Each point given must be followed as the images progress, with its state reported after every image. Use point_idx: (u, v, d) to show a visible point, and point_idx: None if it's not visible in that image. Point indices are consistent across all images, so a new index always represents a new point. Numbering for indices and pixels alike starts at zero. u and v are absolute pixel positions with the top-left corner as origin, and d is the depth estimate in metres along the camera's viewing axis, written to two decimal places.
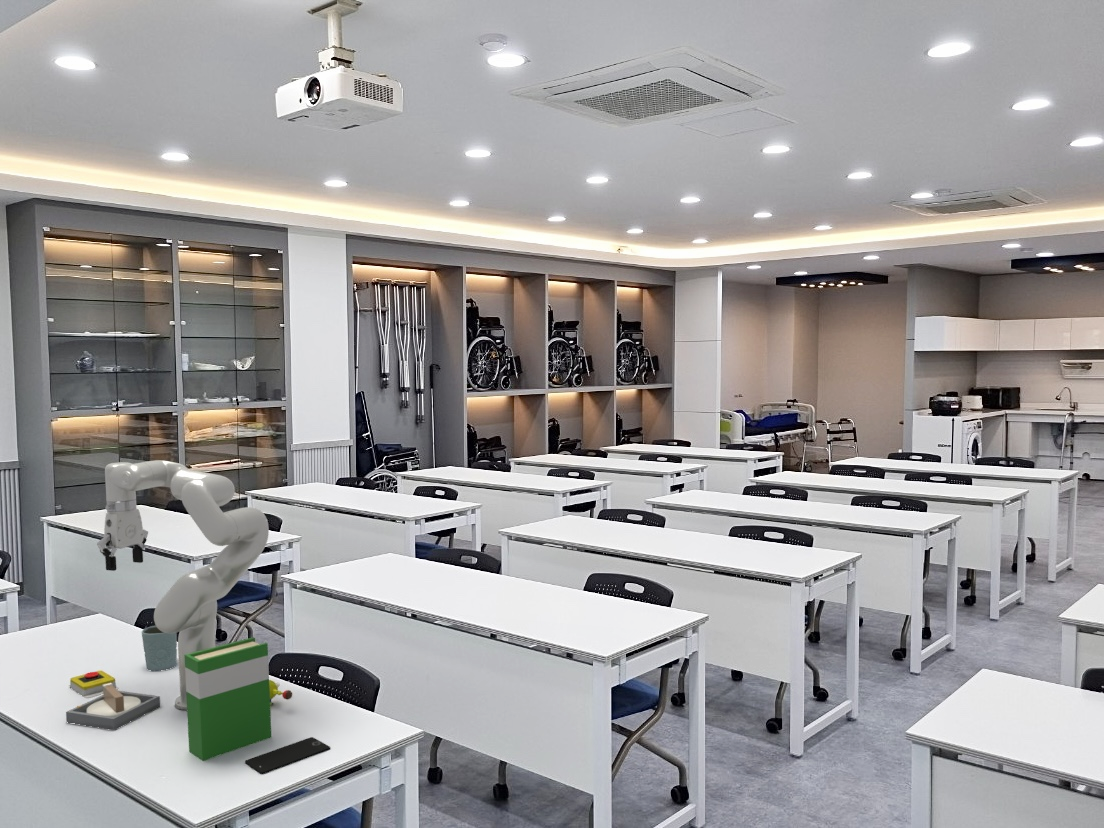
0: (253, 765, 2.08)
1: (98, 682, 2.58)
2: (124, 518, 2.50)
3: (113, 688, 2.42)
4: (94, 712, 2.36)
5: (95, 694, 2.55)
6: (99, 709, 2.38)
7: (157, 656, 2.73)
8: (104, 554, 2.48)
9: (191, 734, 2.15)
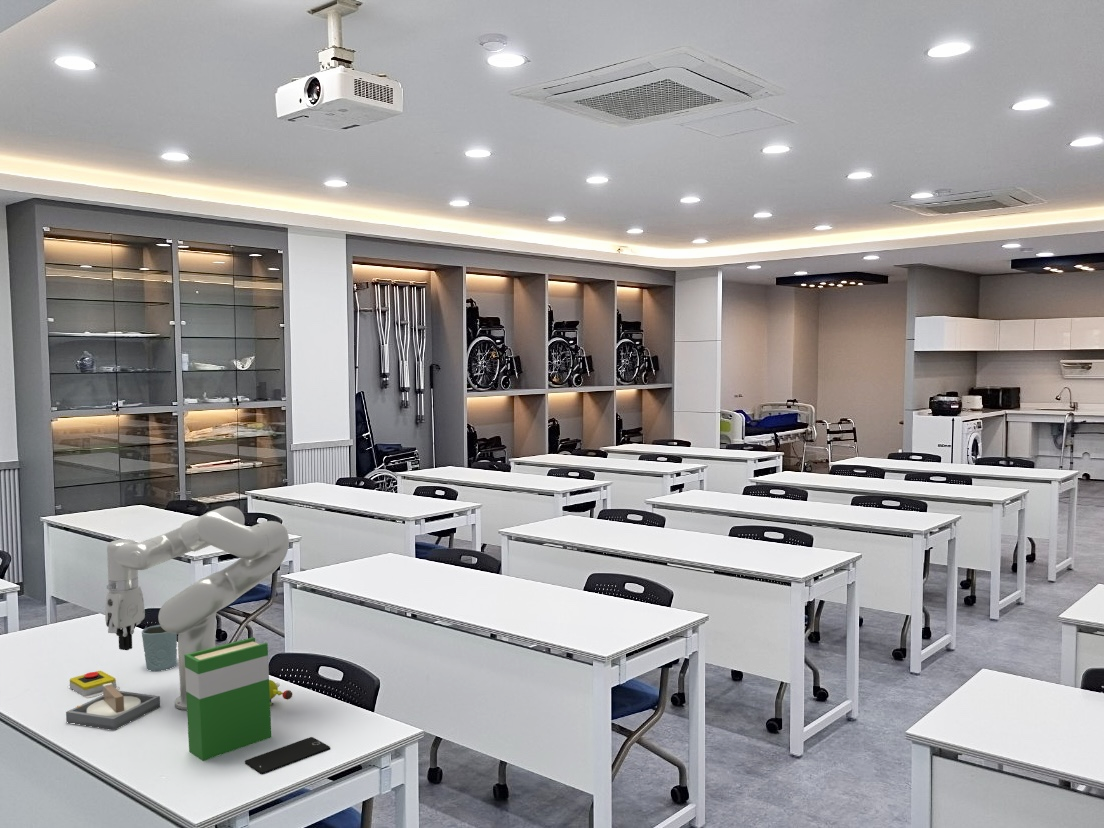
0: (253, 765, 2.08)
1: (99, 682, 2.58)
2: (126, 597, 2.47)
3: (113, 688, 2.42)
4: (94, 712, 2.36)
5: (96, 694, 2.55)
6: (99, 709, 2.38)
7: (157, 656, 2.73)
8: (117, 634, 2.48)
9: (191, 734, 2.15)
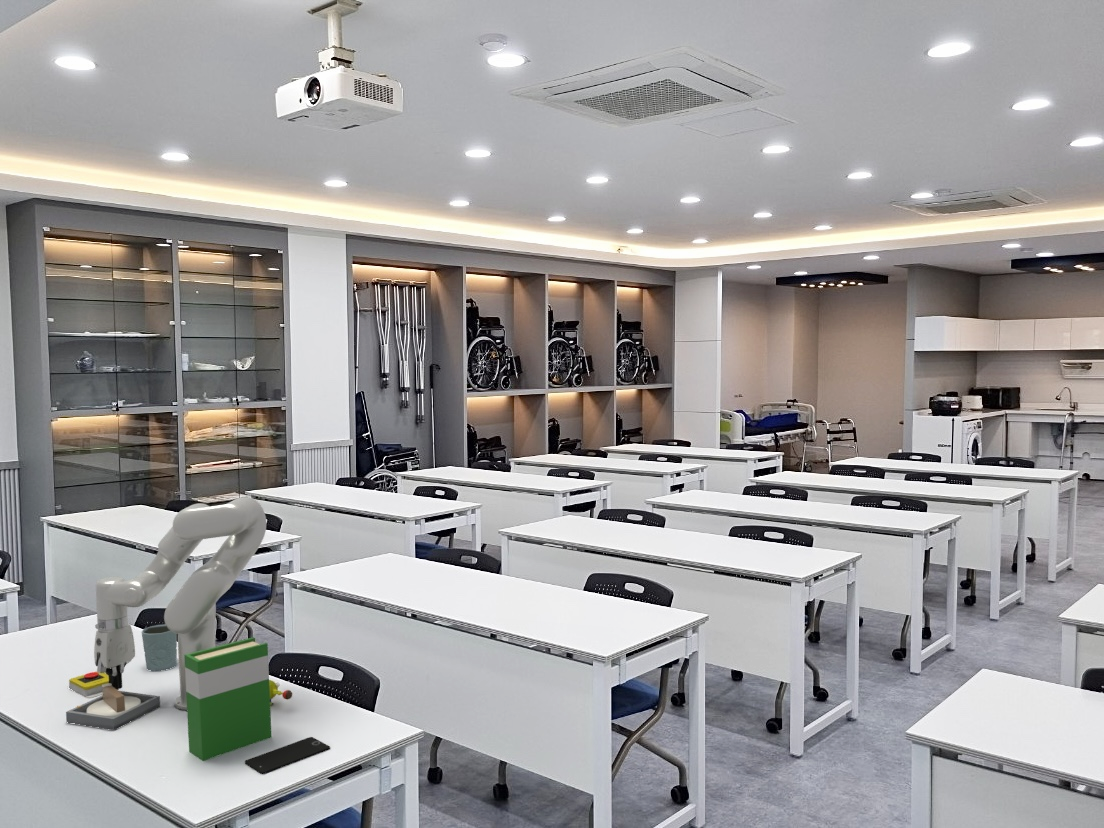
0: (253, 765, 2.08)
1: (99, 682, 2.58)
2: (115, 636, 2.44)
3: (113, 688, 2.42)
4: (94, 712, 2.36)
5: (97, 694, 2.55)
6: (99, 709, 2.38)
7: (157, 656, 2.73)
8: (107, 673, 2.45)
9: (191, 734, 2.15)
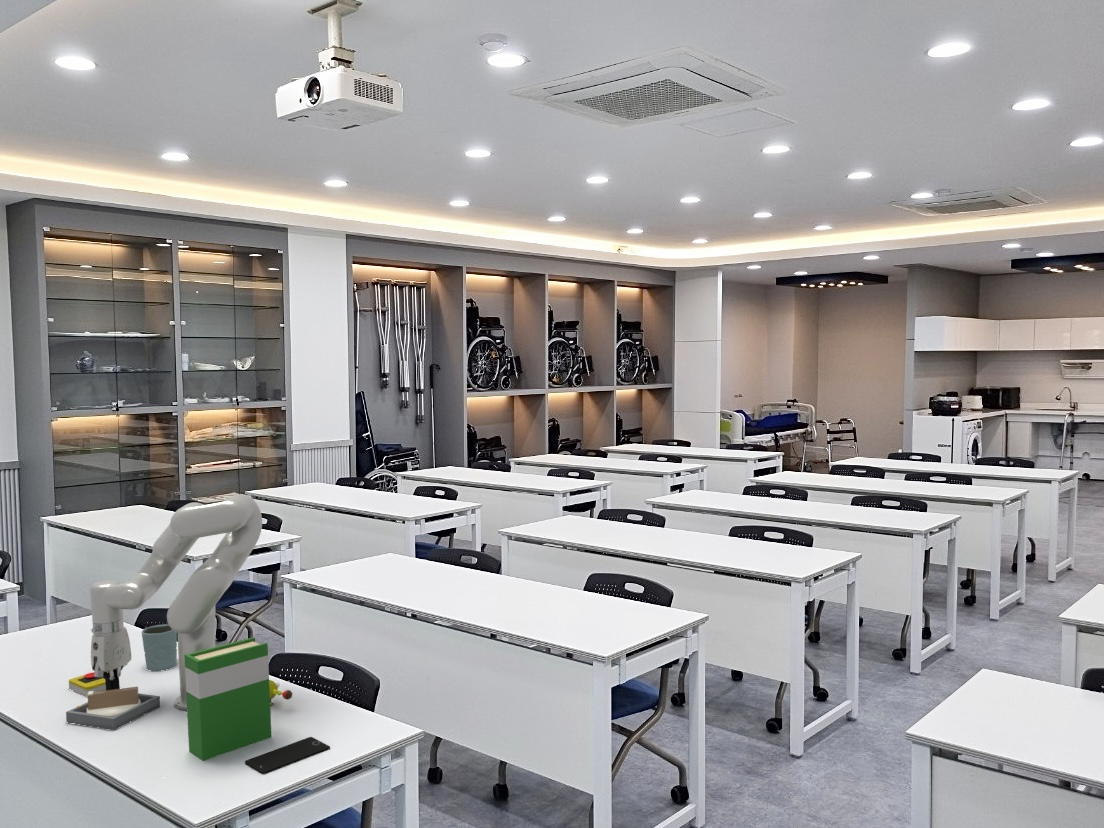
0: (253, 765, 2.08)
1: (100, 682, 2.58)
2: (112, 640, 2.42)
3: (106, 690, 2.40)
4: (118, 711, 2.36)
5: None
6: (112, 710, 2.37)
7: (157, 656, 2.73)
8: (104, 677, 2.43)
9: (191, 734, 2.15)
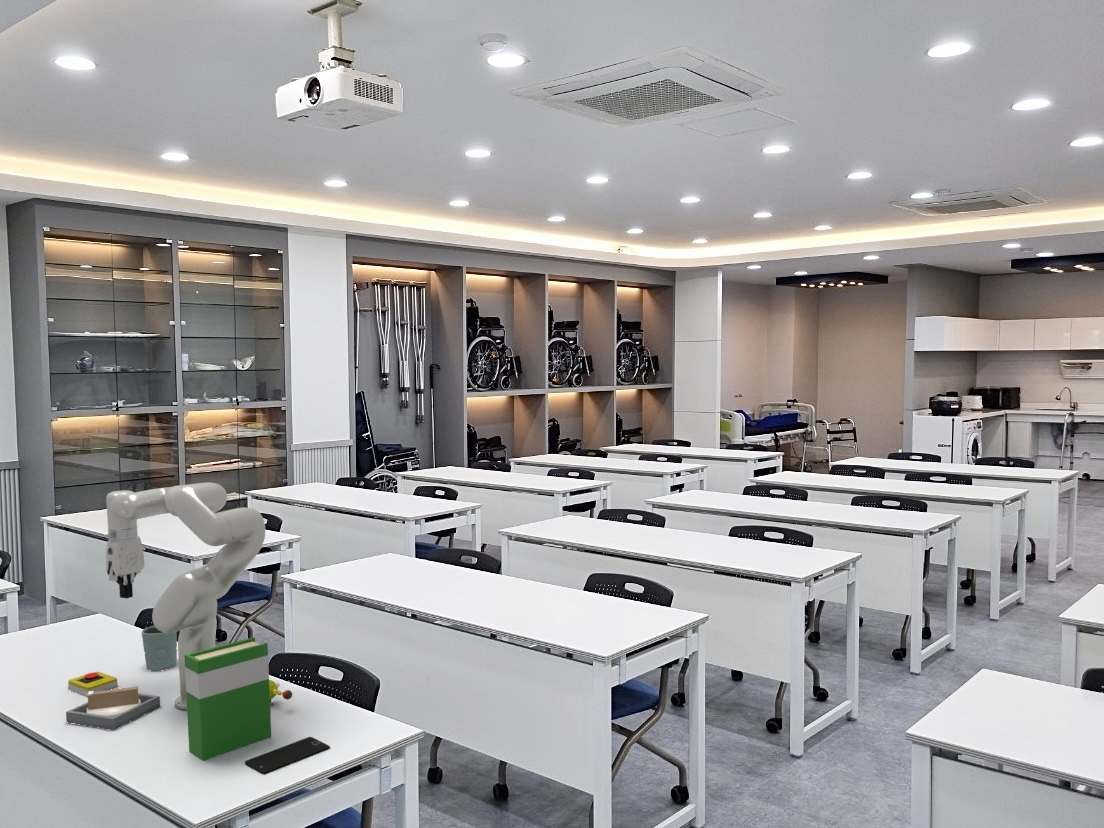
0: (254, 765, 2.07)
1: (101, 682, 2.58)
2: (126, 546, 2.54)
3: (106, 690, 2.40)
4: (118, 711, 2.36)
5: None
6: (112, 710, 2.37)
7: (157, 656, 2.73)
8: (118, 582, 2.55)
9: (191, 734, 2.15)
